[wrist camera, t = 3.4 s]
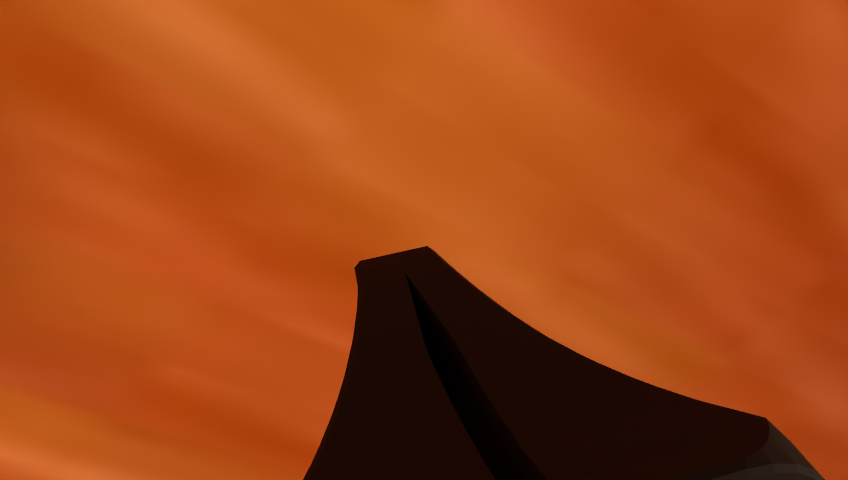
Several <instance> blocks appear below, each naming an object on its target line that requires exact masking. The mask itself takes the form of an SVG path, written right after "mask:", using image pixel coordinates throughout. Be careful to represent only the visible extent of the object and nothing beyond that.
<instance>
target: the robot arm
mask: <svg viewBox="0 0 848 480" xmlns="http://www.w3.org/2000/svg"><path fill="white" fill-rule="evenodd" d="M355 273H356V279H357V284H358V301H357V313H356V321H355V328H354V336H353V341H352V346H351V350H350V355H349V359H348V363H347V368H346V372H345V376H344V379H343V383H342V386H341V390H340V393H339V396H338V399H337V402H336V405H335V408H334V411H333V414H332V416H331V419H330V421H329V424H328V426H327V429H326V431H325V434H324V436H323V439H322V441H321V444H320V446H319V448H318V450H317V453H316V455H315V457H314V459H313V461H312V463H311V466H310V467H309V469H308V471H307V473H306V475H305V477H304V479H303V480H825V479H824V478H823V477H822V476H821V475H820V474H819V473H818V472H817V471H816V470H815V468H814V467H813V466H812V465H811V464H810V463H809V462H808V461H807V460H806V458H805V457H804V456H803V455H802V454H801V453H800V451H799V450H798V449H797V448H796V447H795V446H794V445H793V444H792V443H791V441H789V440H788V439H787V438H786V437H785V436H784V435H783V434H782V433H781V432H780V431H779V430H778V429H777V428H776V427H775V426H774V425H773V424H772V423H771V422H769V421H768V420H767V419H766V418H764V417H760V416H756V415H753V414H749V413H745V412H741V411H737V410H733V409H729V408H726V407H722V406H718V405H714V404H710V403H706V402H702V401H699V400H696V399H692V398H689V397H686V396H683V395H680V394H677V393H674V392H671V391H668V390H665V389H662V388H659V387H656V386H653V385H651V384H648V383H645V382H643V381H640V380H637V379H635V378H632V377H630V376H627V375H625V374H623V373H620V372H618V371H616V370H613V369H611V368H609V367H606V366H604V365H602V364H599V363H597V362H595V361H593V360H591V359H589V358H587V357H584V356H582V355H580V354H578V353H576V352H574V351H573V350H571V349H569V348H567V347H565V346H563V345H561V344H560V343H558V342H556V341H554V340H552V339H550V338H548V337H547V336H545V335H543V334H542V333H540V332H539V331H537V330H535V329H534V328H532V327H531V326H529V325H528V324H526V323H525V322H523V321H522V320H520V319H519V318H517V317H516V316H514V315H513V314H511V313H510V312H508V311H507V310H506V309H504V308H503V307H501V306H500V305H499V304H497V303H496V302H495V301H494V300H492V299H491V298H490V297H488V296H487V295H486V294H484V293H483V292H482V291H480V290H479V289H478V288H477V287H475V286H474V285H473V284H472V283H470V282H469V281H468V280H467V279H466V278H464V277H463V276H462V275H461V274H460V273H458V272H457V271H456V270H455V269H454V268H453V267H451V266H450V265H449V264H448V263H447V262H446V261H445V260H444V259H443V258H441V257H440V256H439V255H438V254H437V253H436V252H435V251H434V250H432V249H431V248H429V247H428V246H425V247H421V248H416V249H412V250H407V251H403V252H398V253H394V254H389V255H385V256H380V257H376V258H371V259H367V260H362V261H360V262H359V263H358V264H357V265H356V267H355Z"/></svg>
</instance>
